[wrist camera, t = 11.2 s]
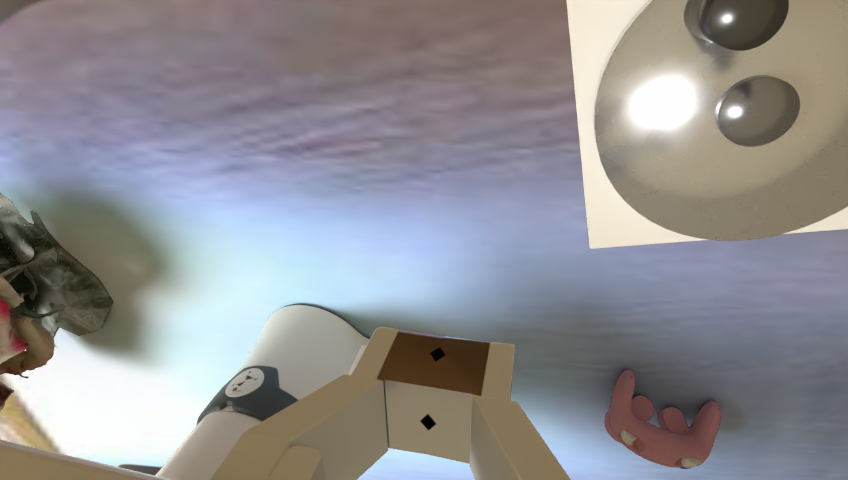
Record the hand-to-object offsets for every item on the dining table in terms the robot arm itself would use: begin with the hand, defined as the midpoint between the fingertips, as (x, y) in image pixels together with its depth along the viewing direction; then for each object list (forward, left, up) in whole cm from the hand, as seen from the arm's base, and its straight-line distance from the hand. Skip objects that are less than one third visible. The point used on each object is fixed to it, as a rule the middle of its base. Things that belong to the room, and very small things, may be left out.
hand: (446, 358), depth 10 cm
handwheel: (-3, -13, -27) cm, 30 cm away
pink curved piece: (-32, -8, -31) cm, 45 cm away
